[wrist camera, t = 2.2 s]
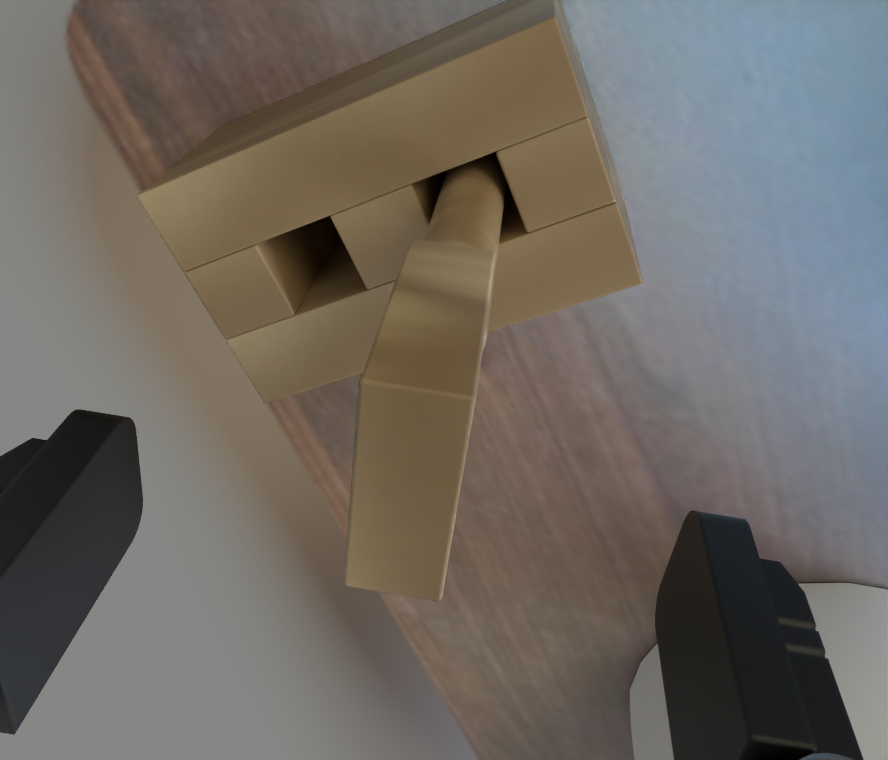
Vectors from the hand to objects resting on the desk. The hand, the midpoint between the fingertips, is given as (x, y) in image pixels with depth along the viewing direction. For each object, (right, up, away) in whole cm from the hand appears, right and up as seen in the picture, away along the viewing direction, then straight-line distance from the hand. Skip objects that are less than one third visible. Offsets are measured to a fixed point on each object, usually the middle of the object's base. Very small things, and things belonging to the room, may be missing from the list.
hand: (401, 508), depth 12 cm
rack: (0, +9, +17) cm, 19 cm away
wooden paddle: (+2, +10, +16) cm, 19 cm away
